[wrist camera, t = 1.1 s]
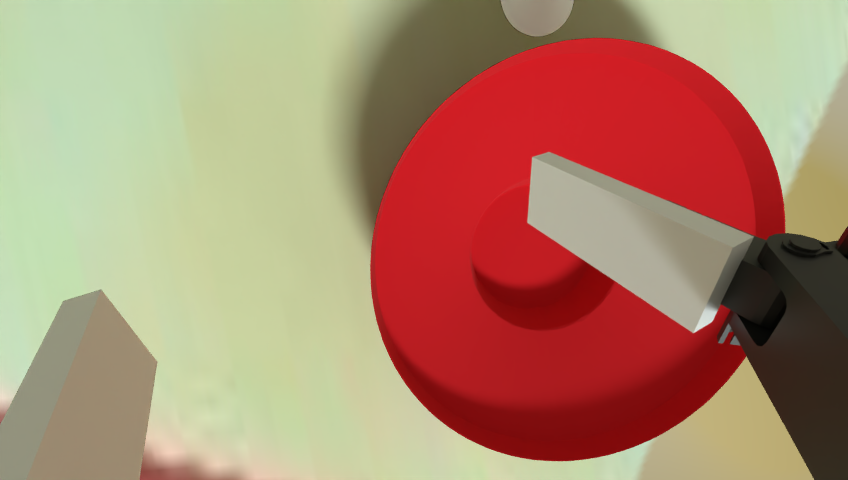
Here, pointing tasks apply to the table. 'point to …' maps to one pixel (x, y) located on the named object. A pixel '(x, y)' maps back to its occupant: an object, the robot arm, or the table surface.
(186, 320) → the table surface
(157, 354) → the table surface
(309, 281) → the table surface
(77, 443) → the robot arm
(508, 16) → the champagne flute
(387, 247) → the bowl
